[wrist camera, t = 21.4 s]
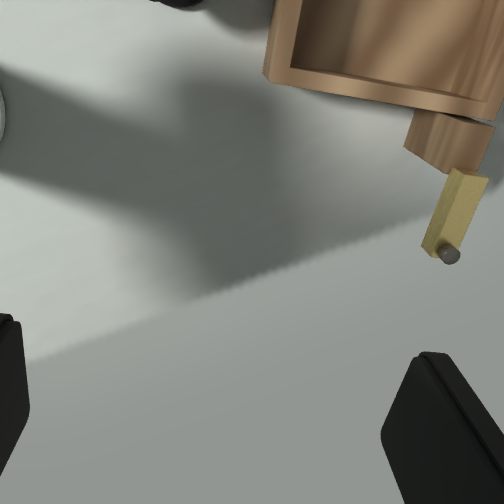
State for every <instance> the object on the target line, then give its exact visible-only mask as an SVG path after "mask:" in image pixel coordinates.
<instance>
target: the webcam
mask: <svg viewBox="0 0 504 504" xmlns="http://www.w3.org/2000/svg"><path fill="white" fill-rule="evenodd" d="M150 1H154V2H158V1H159V2H161V3H163V4H165V5H168V6H172V7H178V8H183V7H189V6H193V5H196V4H198V3H200V2H201V1H203V0H150Z"/></svg>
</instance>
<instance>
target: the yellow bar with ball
mask: <svg viewBox="0 0 504 504" xmlns="http://www.w3.org/2000/svg"><path fill="white" fill-rule="evenodd" d="M488 181H489V178H488V177H486V176H484V175H482V174H481V173H479V172H477V171H475V170H469V169H462V168H456V167H452V168H451V170H450V173H449V175H448V178H447V180H446V183H445V186H444V188H443V191H442V193H441V196H440V198H439V201H438V203H437V206H436V209H435V211H434V214H433V216H432V219H431V221H430V224H429V227H428V229H427V232H426V234H425V237H424V239H423V242H422V244H421V247H422V248H423V249H424V250H425V251H426V252H427V253H428V254H429V255H430V256H431V257H435V258H440V259H441V260H442V261H443V262H444V263H445V264H448V265H449V264H454V263H456V262H457V261H458V259H459V258H460V252H459V251H458V249H459V246H460V244H461V242H462V240H463V237H464V235H465V233H466V231H467V228H468V226H469V224H470V222H471V219H472V217H473V215H474V212H475V210H476V208H477V206H478V203H479V201H480V199H481V197H482V194H483V192H484V190H485V187H486V185H487V183H488Z"/></svg>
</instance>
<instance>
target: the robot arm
mask: <svg viewBox="0 0 504 504" xmlns="http://www.w3.org/2000/svg"><path fill="white" fill-rule="evenodd" d="M5 121H6V119H5V105H4V101H3V97H2V93H1V90H0V141H1V138H2V136H3V134H4V127H5ZM29 411H30V403H29V394H28V385H27V375H26V366H25V356H24V347H23V337H22V328H21V324H20V322H18V321H14V320H13V317H12V315H10V314H3V313H0V476H1V474H2V472H3V469H4V467H5V465H6V463H7V461H8V459H9V457H10V455H11V453H12V451H13V449H14V447H15V445H16V443H17V441H18V439H19V437H20V435H21V433H22V431H23V429H24V427H25V425H26V422H27V420H28V417H29ZM381 442H382V446H383V448H384V451H385V453H386V456H387V458H388V461H389V464H390V466H391V469H392V472H393V474H394V477H395V479H396V482H397V484H398V487H399V490H400V492H401V495H402V498H403V500H404V503H405V504H504V434H503V433H502V432H501V430H500V428H499V427H498V426H497V424H496V423H495V421H494V420H493V418H492V417H491V416H490V414H489V413H488V411H487V410H486V408H485V407H484V405H483V404H482V402H481V401H480V400H479V398H478V397H477V395H476V394H475V392H474V391H473V390H472V388H471V387H470V385H469V384H468V382H467V381H466V379H465V378H464V377H463V375H462V374H461V372H460V371H459V369H458V368H457V366H456V365H455V364H454V362H453V361H452V359H451V358H450V357H449V356H448V355H447V354H445V353H436V352H421V353H420V354H419V356H418V357H414V358H413V359H412V361H411V363H410V366H409V368H408V370H407V372H406V374H405V377H404V379H403V381H402V384H401V386H400V388H399V390H398V392H397V395H396V398H395V399H394V402H393V404H392V406H391V409H390V411H389V413H388V415H387V417H386V420H385V422H384V425H383V426H382V430H381Z"/></svg>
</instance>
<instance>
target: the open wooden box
mask: <svg viewBox="0 0 504 504" xmlns="http://www.w3.org/2000/svg"><path fill="white" fill-rule="evenodd" d="M262 73H263V75H264V76H265V77H266V78H267V79H268V80H269V81H270V82H271V83H276V84H282V85H288V86H294V87H300V88H305V89H311V90H317V91H323V92H329V93H334V94H340V95H346V96H352V97H358V98H363V99H369V100H375V101H381V102H387V103H392V104H398V105H404V106H410V107H416V110H415V113H414V116H413V119H412V122H411V125H410V128H409V131H408V134H407V137H406V140H405V143H404V146H403V147H405V148H406V149H408V150H409V151H411V152H412V153H414V154H415V155H417V156H418V157H420V158H421V159H423V160H424V161H426V162H427V163H429V164H430V165H432V166H433V167H435V168H437V169H438V170H440V171H441V172H443V173H444V174H449V173H450V170H451V168H452V167H456V168H462V169H469V170H475V171H477V170H478V168H479V165H480V163H481V160H482V158H483V156H484V153H485V151H486V149H487V146H488V144H489V142H490V139H491V137H492V134H493V132H494V130H495V127H493V126H490V125H487V124H484V123H482V122H479V121H476V120H474V119H471V118H468V117H474V118H479V119H485V120H491V121H494V120H495V118H496V116H497V113H498V111H499V108H500V106H501V104H502V101H503V99H504V0H274V5H273V11H272V17H271V23H270V29H269V35H268V41H267V47H266V53H265V59H264V66H263V72H262ZM465 116H468V117H465Z"/></svg>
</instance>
